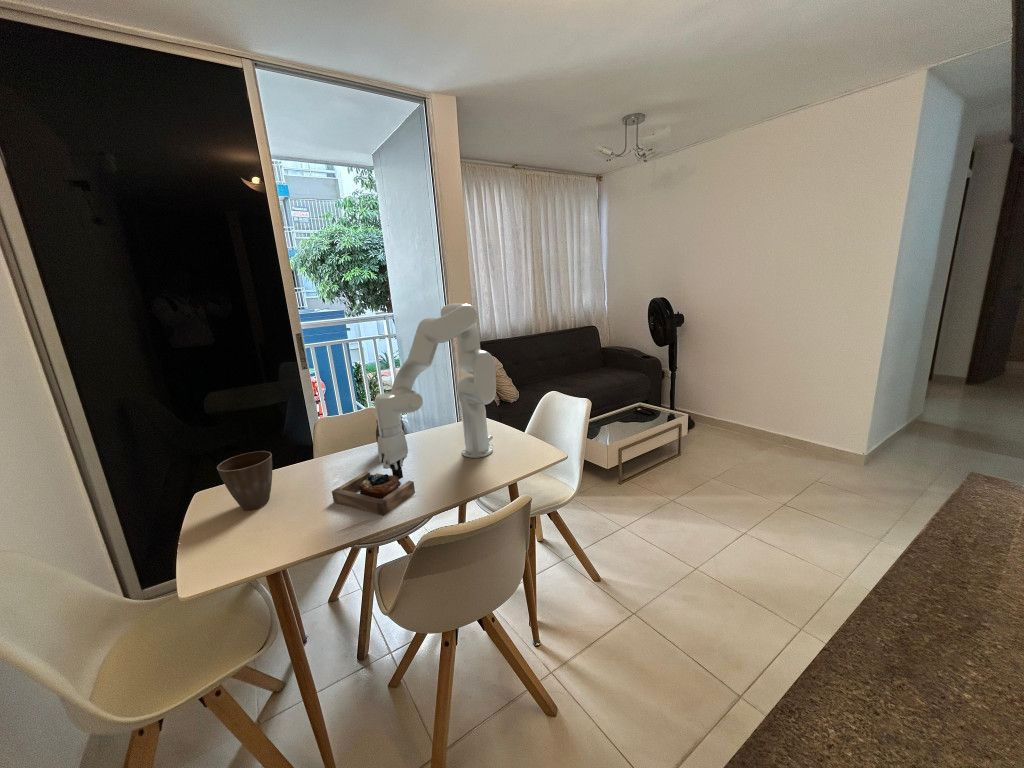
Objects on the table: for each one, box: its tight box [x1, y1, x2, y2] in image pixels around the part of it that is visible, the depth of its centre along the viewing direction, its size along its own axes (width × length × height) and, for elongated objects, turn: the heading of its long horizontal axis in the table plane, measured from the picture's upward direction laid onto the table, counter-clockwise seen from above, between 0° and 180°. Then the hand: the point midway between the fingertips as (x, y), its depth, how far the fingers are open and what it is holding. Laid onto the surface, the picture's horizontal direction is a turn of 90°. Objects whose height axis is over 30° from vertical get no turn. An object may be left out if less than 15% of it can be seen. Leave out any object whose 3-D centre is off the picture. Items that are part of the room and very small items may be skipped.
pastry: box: [358, 472, 401, 499], centre depth 132 cm, size 11×12×6 cm
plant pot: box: [216, 450, 273, 511], centre depth 128 cm, size 15×15×16 cm
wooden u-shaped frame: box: [331, 471, 416, 516], centre depth 128 cm, size 14×22×4 cm, turn 63°
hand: (398, 477), depth 138 cm, fingers closed
